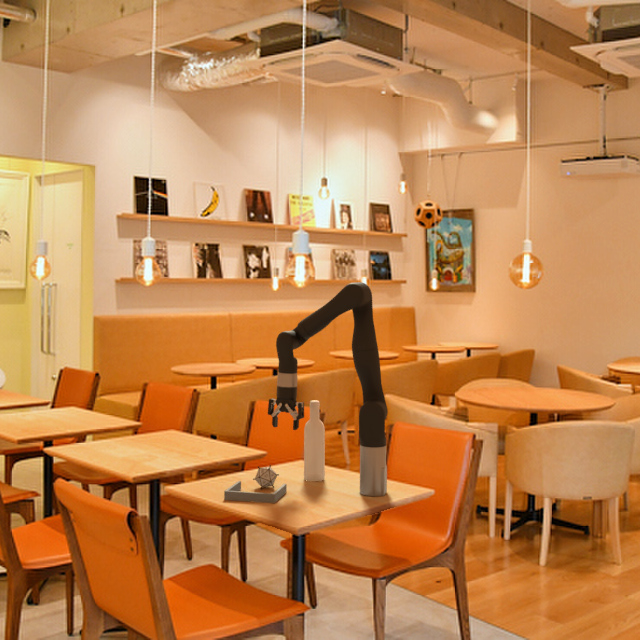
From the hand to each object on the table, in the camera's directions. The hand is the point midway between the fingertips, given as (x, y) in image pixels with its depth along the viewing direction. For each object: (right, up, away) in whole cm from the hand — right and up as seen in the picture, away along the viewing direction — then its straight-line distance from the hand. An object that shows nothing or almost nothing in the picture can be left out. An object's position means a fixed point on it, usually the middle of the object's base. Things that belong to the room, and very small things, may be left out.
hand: (285, 428), depth 310 cm
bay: (-10, -22, -17) cm, 29 cm away
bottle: (+11, -21, +8) cm, 25 cm away
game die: (-7, -21, -5) cm, 23 cm away
